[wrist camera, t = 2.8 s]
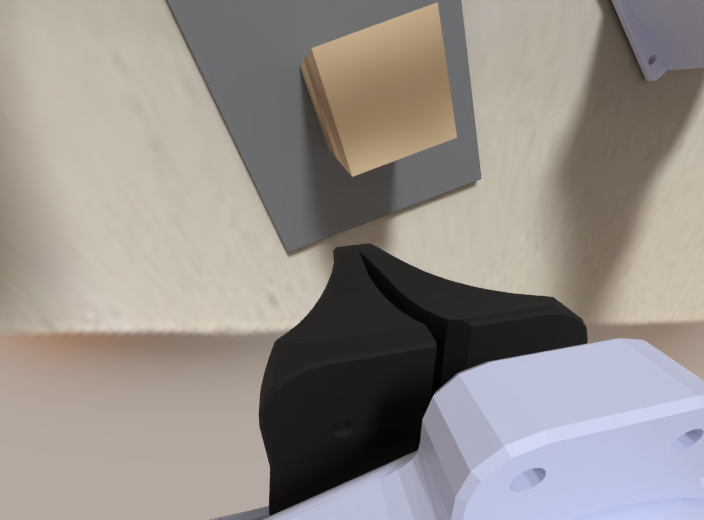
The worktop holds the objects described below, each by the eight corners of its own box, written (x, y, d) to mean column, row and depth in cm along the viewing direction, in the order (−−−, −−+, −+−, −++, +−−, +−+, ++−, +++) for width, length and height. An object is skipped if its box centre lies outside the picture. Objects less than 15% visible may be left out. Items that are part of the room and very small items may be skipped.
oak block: (396, 122, 19) (456, 137, 13) (327, 148, 19) (352, 177, 13) (377, 37, 17) (437, 2, 11) (299, 65, 17) (311, 47, 10)
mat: (477, 177, 22) (481, 178, 22) (287, 249, 22) (287, 252, 22) (408, -398, 12) (413, -417, 11) (38, -275, 11) (28, -290, 11)
